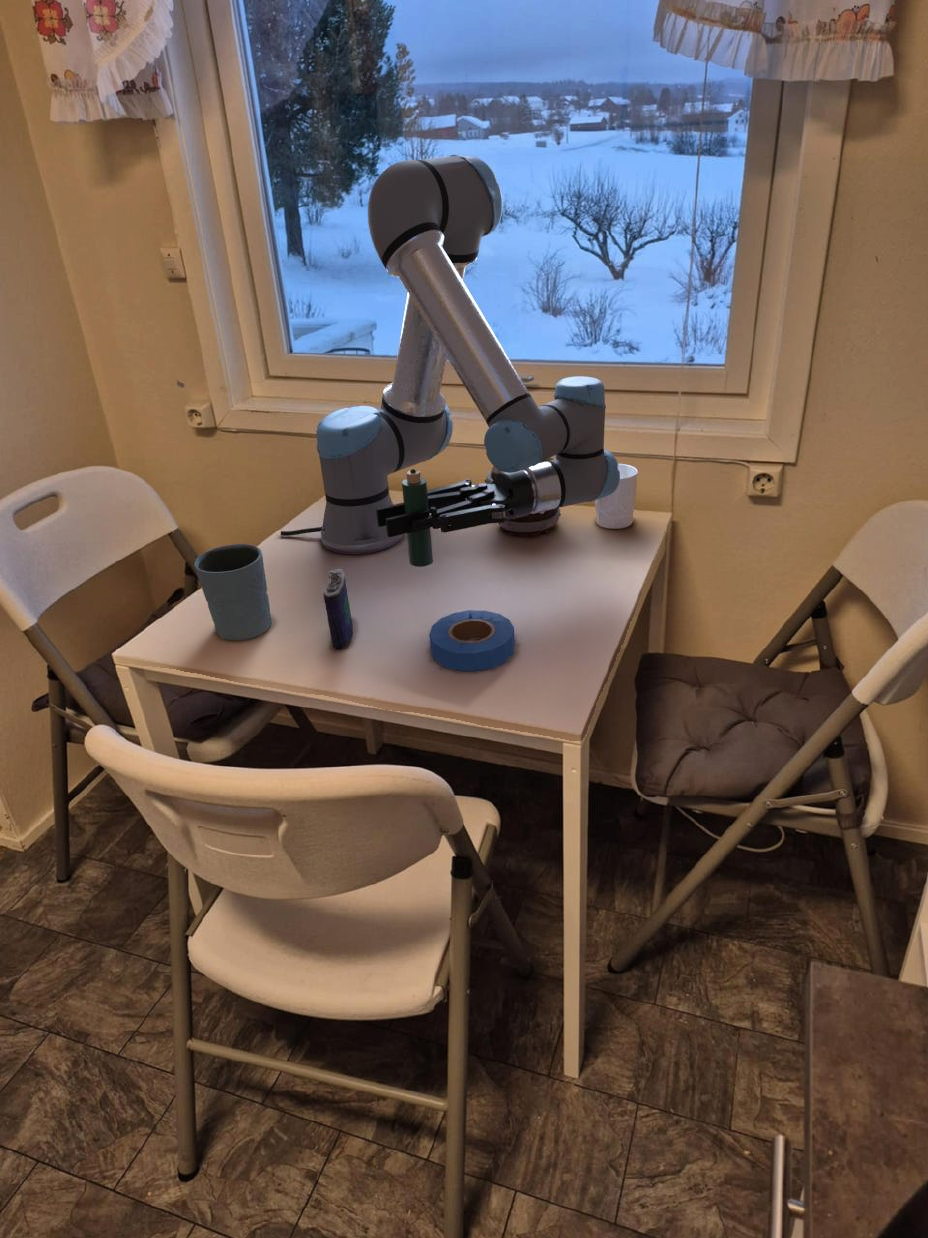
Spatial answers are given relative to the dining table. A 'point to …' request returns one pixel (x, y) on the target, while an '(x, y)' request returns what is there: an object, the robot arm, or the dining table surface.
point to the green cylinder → (414, 502)
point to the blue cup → (235, 590)
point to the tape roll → (472, 654)
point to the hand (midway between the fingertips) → (382, 522)
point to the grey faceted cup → (619, 501)
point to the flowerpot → (528, 523)
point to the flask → (338, 610)
